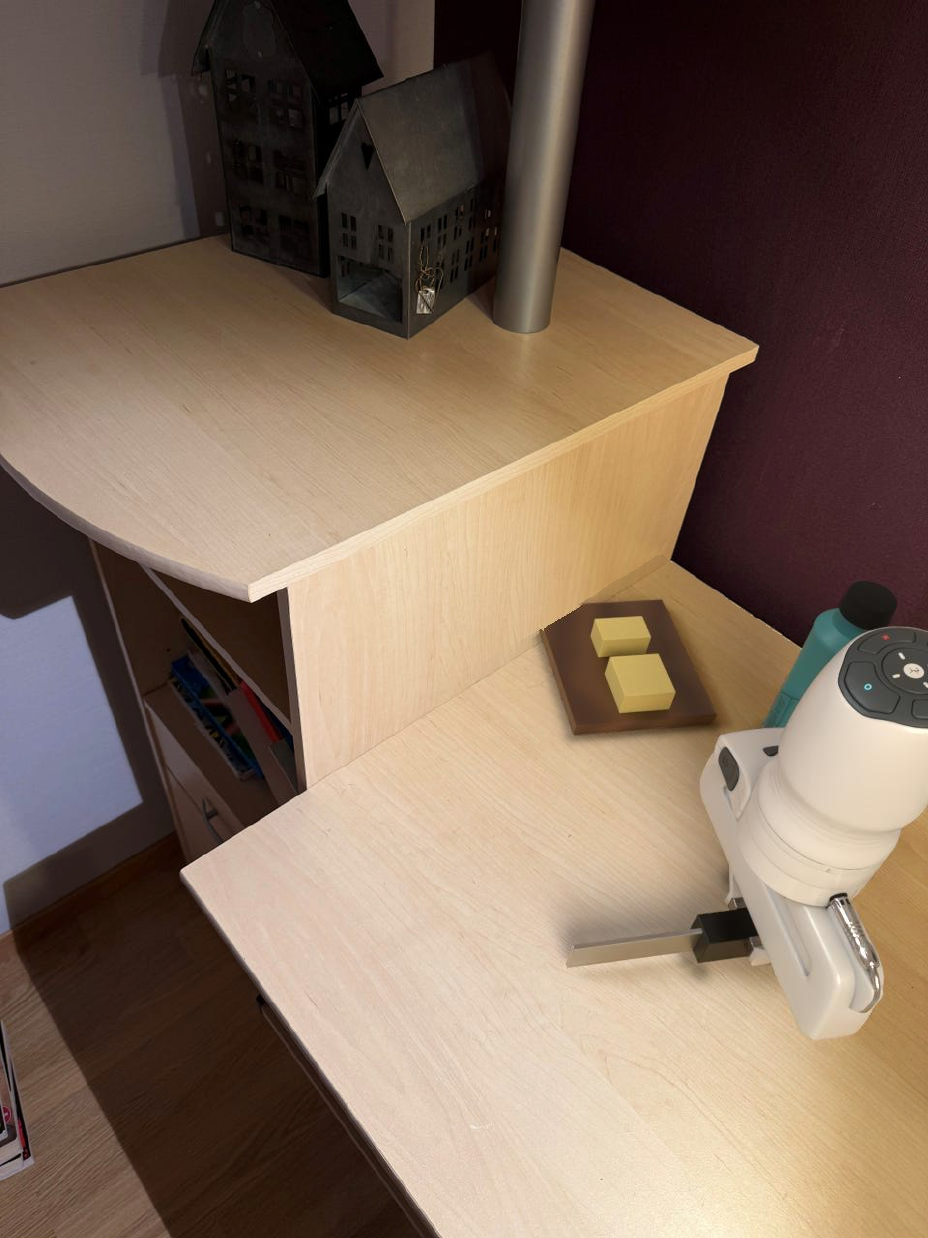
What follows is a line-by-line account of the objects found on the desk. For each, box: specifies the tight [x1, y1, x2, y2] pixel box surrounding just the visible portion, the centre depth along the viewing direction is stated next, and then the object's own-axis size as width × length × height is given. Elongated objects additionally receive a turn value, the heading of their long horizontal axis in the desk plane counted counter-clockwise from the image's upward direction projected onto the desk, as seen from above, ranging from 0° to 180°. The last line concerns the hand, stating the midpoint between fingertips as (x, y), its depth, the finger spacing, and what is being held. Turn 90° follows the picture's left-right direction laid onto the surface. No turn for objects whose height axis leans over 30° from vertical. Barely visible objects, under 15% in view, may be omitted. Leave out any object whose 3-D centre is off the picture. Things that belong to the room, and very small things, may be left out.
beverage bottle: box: [761, 580, 898, 728], centre depth 79 cm, size 6×7×20 cm
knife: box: [565, 908, 759, 969], centre depth 68 cm, size 18×2×3 cm, turn 100°
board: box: [538, 599, 717, 736], centre depth 91 cm, size 14×16×2 cm
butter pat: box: [591, 616, 651, 657], centre depth 91 cm, size 5×3×2 cm, turn 100°
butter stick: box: [605, 654, 676, 713], centre depth 87 cm, size 5×5×2 cm
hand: (746, 932), depth 69 cm, fingers closed on knife, 2 cm apart
